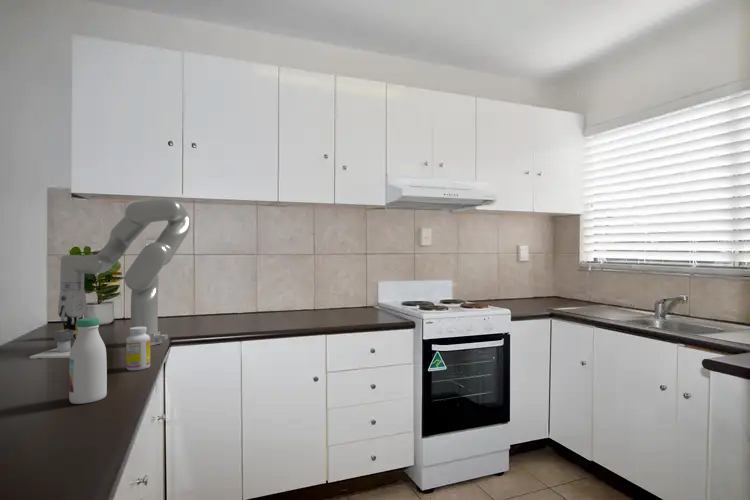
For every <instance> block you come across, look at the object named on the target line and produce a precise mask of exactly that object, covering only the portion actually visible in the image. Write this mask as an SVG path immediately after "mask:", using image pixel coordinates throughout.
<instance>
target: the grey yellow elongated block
mask: <svg viewBox="0 0 750 500" xmlns="http://www.w3.org/2000/svg"><path fill="white" fill-rule="evenodd" d="M73 334H75V337H77V334H78V329H77V324H75V330H69V329H65V330H64V329H61V330H60V329H59V330H56V331H54V341H56V342H57V341H62V340H70V339H71V340H74V339H73Z"/></svg>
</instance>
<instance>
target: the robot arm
mask: <svg viewBox="0 0 750 500" xmlns="http://www.w3.org/2000/svg"><path fill="white" fill-rule="evenodd" d="M124 214H125V215H124V216H123V217H122V218H121V219H120V221H118V222H117V224H115V226H114V227H113V228H111V231H110V235H109V240H108V241H107V243H106V244H105V245H104V246H103V248H102V249H101V250H99V252H97V254H88V255H80V254H66V255H65V254H64V255H62V256H61V257H60V281H59V282H60V283H59V285H60V286H59V288H60V289H59V291H60V292H59V297H58V298H59V299H58V307H57V312H58V317H59V318H60V321H62V322H63V321H64V322H65V325H66V329H69V330H75V324H77V320H79V318H81V317H82V315H83V316H84V315H86V313H87V296H86V289H85V274H87V275H97V274H103V273H106V272H108V271H109V270H110V269H111V268H112V267H113V266H114V265H116V263H117V262H118V261H119V260H121V258H122V257H123V256H124V254H125V252H127V250H128V248H129V247H130V246H131V245H132V243H133V242H134V241H135V240H136V239H137V238H138V237H139V235H140V234H141V233H142V232H144V230H145V229H146V228H147V227H148V226H149V225H150V224H151V223H156V222H164V221H165V222H166V221H167V225H166V226H165V228H164V229H163V230H162V232H161V233H160V235H159V236H158V237H157V238H156V240H155V241H154V242H151V243H148V244H147V245H146V246H145V247H143V248H142V250H141V251H140V253H139V254H138V255H137V257H136V258H135V260H134V261H132V264H131V265H130V267H129V268H128V270H127V271H126V274H125V275H124V283H125V286H127V287H128V288H129V290H131V292H130V328H133V327H146V328H147V331H146V334H147V335H149V336H150V347H152V346H156V345H160V344H162V342H163V340H168V336H169V335H168V334H167V333H165V334H164V333H163V334H161V331H160V330H159V328H158V323H159V321H158V313H159V312H158V310H159V309H158V303H159V301H158V299H159V298H158V296H159V295H158V294H159V283H160V282H159V279H160V278H159V274H160V272H161V270H162V268H163V267H164V266H166V265H168V264H169V263H170V262H171V260H172V258H173V257H174V256H175V254H176V252H177V251H178V249H179V248H180V245H181V244H182V243H183V241H184V240H185V239H186V237H187V235H188V233H189V231H190V229H191V228H190V226H191V218H190V215H189V213H188V211H187V209H186V208H185V207H184V206H183V205H182V204H181V202H178V201H177V200H174V199H172V198H164V199H163V198H161V199H153V200H152V199H151V200H142V201H134V202H131V203H130V204H128V205H127V207H126V208H125V212H124ZM73 335H75V334H73Z"/></svg>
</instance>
